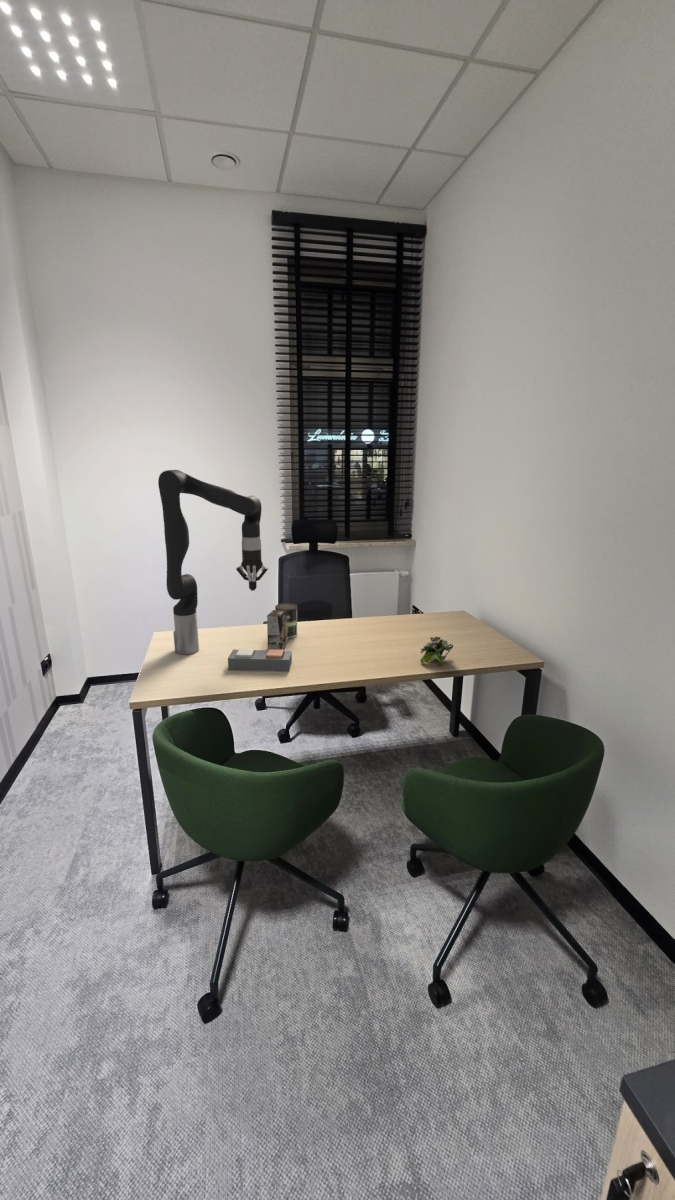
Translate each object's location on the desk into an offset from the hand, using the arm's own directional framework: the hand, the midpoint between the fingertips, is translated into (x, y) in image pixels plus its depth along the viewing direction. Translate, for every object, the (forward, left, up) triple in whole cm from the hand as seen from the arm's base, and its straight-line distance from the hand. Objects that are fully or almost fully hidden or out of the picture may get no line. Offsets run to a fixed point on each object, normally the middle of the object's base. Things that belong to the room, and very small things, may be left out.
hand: (253, 590), depth 195 cm
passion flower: (+76, -2, -29) cm, 81 cm away
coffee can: (+10, +26, -29) cm, 40 cm away
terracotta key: (+10, -10, -26) cm, 29 cm away
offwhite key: (-2, -10, -26) cm, 28 cm away
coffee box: (+8, +10, -29) cm, 32 cm away
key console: (+4, -10, -29) cm, 31 cm away
